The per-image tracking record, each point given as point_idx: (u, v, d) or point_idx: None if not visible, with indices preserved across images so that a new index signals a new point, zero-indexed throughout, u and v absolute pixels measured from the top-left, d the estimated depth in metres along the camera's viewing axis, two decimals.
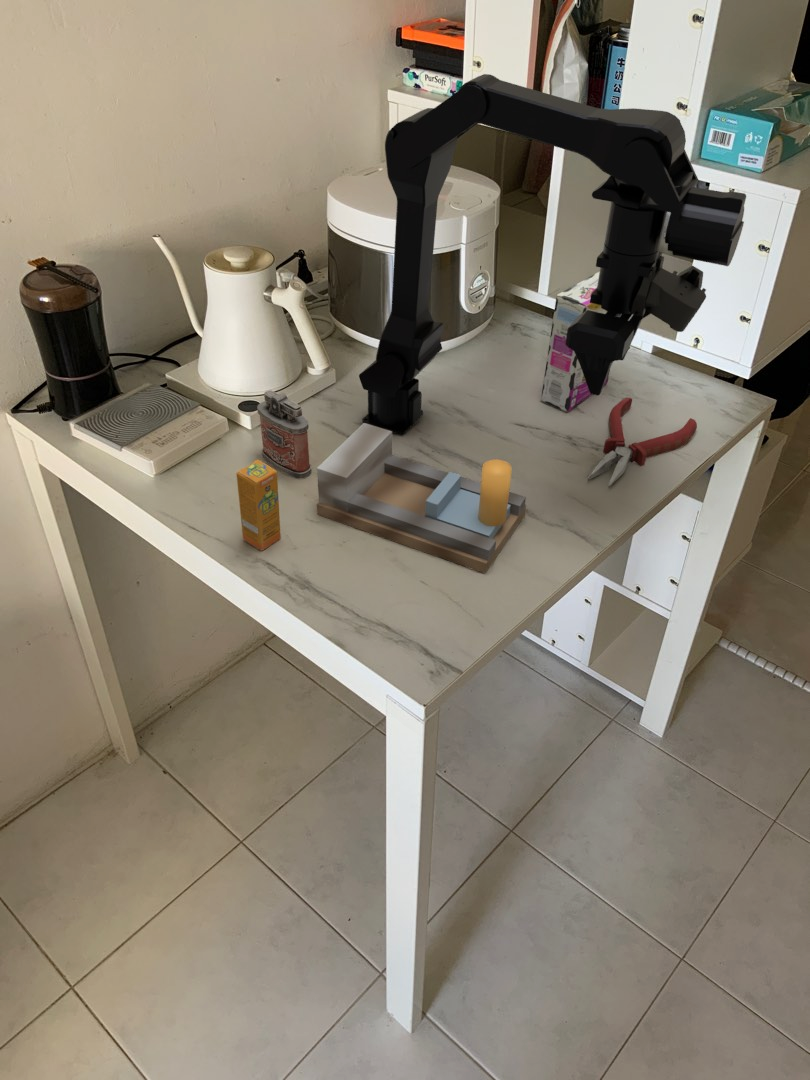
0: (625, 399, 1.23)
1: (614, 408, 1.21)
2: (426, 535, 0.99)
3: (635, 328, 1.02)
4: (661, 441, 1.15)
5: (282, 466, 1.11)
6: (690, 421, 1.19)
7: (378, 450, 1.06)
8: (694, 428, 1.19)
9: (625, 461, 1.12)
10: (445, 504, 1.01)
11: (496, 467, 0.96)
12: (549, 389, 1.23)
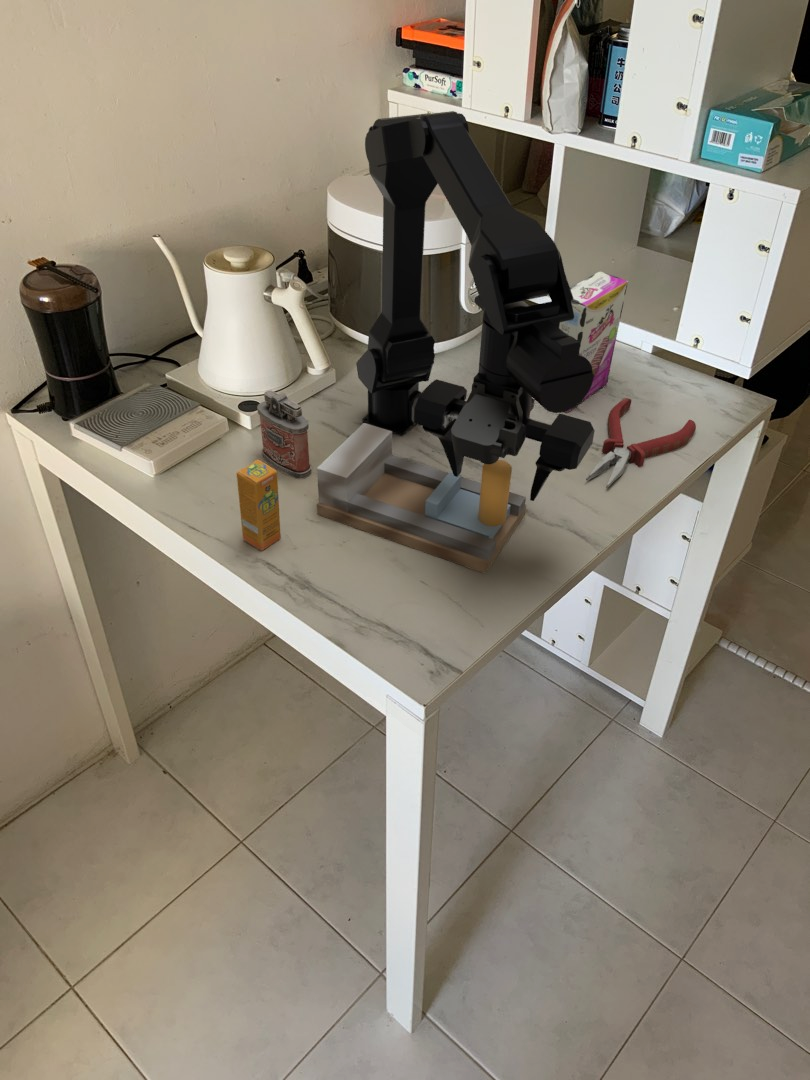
0: (624, 400, 1.23)
1: (613, 409, 1.21)
2: (426, 535, 0.99)
3: None
4: (660, 442, 1.15)
5: (282, 466, 1.11)
6: (689, 422, 1.19)
7: (378, 450, 1.06)
8: (693, 429, 1.19)
9: (624, 462, 1.12)
10: (445, 504, 1.01)
11: (496, 467, 0.96)
12: None
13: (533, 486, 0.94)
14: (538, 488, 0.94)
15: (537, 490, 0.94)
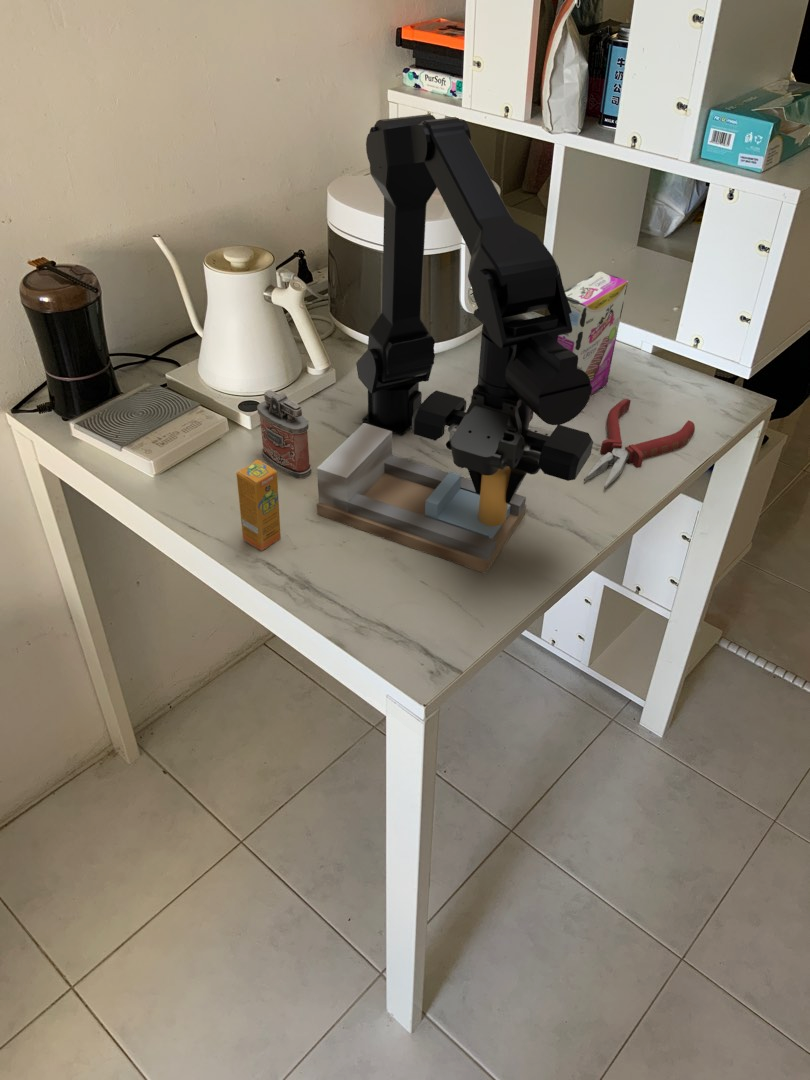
0: (623, 400, 1.23)
1: (612, 409, 1.21)
2: (426, 535, 0.99)
3: (510, 476, 0.94)
4: (659, 443, 1.15)
5: (282, 466, 1.11)
6: (688, 423, 1.19)
7: (378, 450, 1.06)
8: (692, 430, 1.18)
9: (622, 463, 1.12)
10: (445, 504, 1.01)
11: None
12: None
13: (508, 489, 0.96)
14: (513, 491, 0.96)
15: (512, 493, 0.96)
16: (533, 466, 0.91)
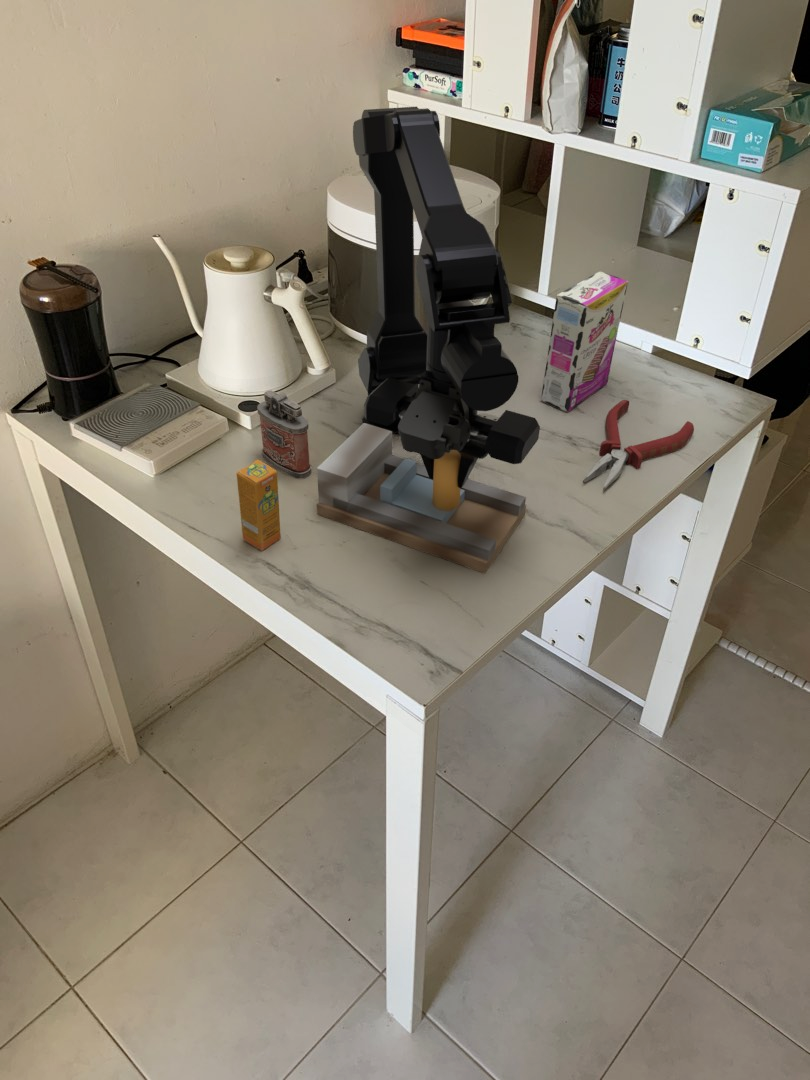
0: (622, 401, 1.22)
1: (611, 410, 1.21)
2: (426, 535, 0.99)
3: None
4: (658, 444, 1.15)
5: (282, 466, 1.11)
6: (687, 424, 1.18)
7: (378, 450, 1.06)
8: (691, 431, 1.18)
9: (620, 464, 1.12)
10: (400, 489, 1.04)
11: None
12: (549, 389, 1.23)
13: (459, 473, 0.98)
14: (464, 475, 0.98)
15: (463, 477, 0.98)
16: (481, 450, 0.93)
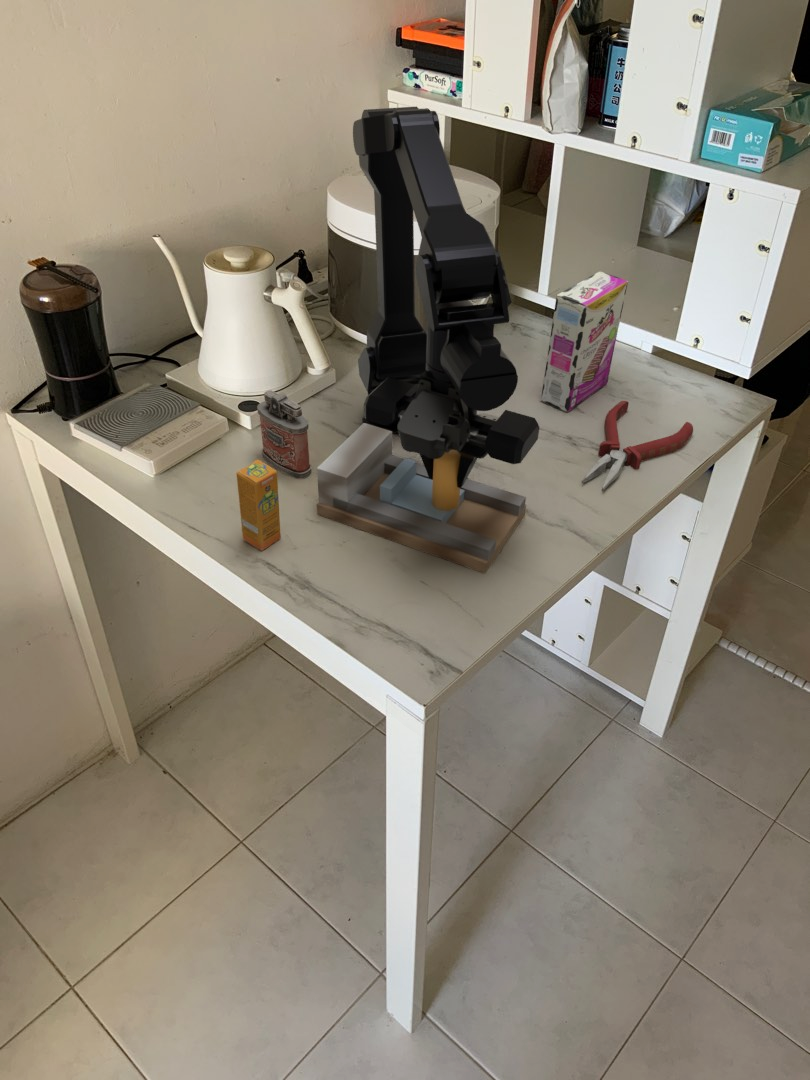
0: (621, 402, 1.22)
1: (610, 411, 1.21)
2: (426, 535, 0.99)
3: (460, 461, 0.96)
4: (657, 445, 1.15)
5: (282, 466, 1.11)
6: (686, 424, 1.18)
7: (378, 450, 1.06)
8: (690, 432, 1.18)
9: (619, 465, 1.12)
10: (400, 489, 1.04)
11: None
12: (549, 389, 1.23)
13: (459, 473, 0.98)
14: (463, 475, 0.98)
15: (463, 477, 0.98)
16: (481, 450, 0.93)
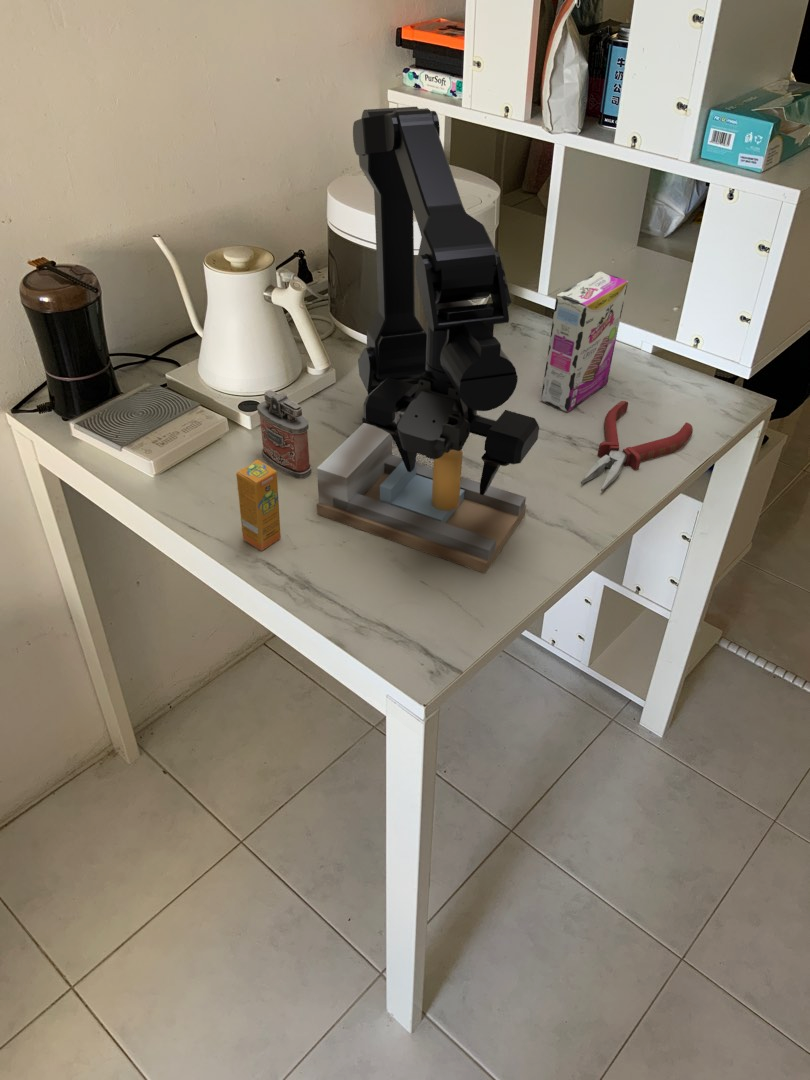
0: (621, 402, 1.22)
1: (609, 411, 1.21)
2: (426, 535, 0.99)
3: (483, 468, 0.95)
4: (656, 446, 1.14)
5: (282, 466, 1.11)
6: (686, 425, 1.18)
7: (378, 450, 1.06)
8: (690, 432, 1.18)
9: (619, 465, 1.11)
10: (400, 489, 1.04)
11: None
12: (549, 389, 1.23)
13: (482, 481, 0.97)
14: (486, 483, 0.97)
15: (486, 484, 0.97)
16: None
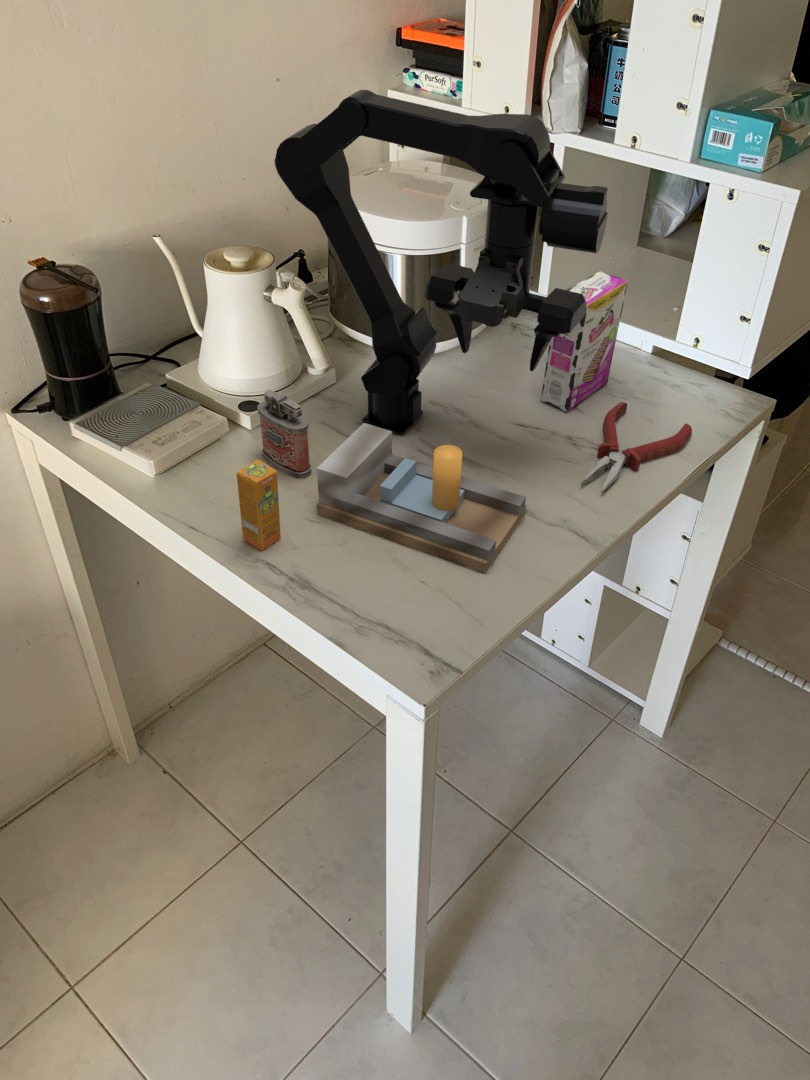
0: (620, 404, 1.22)
1: (609, 413, 1.20)
2: (426, 535, 0.99)
3: (534, 343, 1.05)
4: (656, 447, 1.14)
5: (282, 466, 1.11)
6: (685, 426, 1.18)
7: (378, 450, 1.06)
8: (689, 433, 1.18)
9: (619, 466, 1.11)
10: (400, 489, 1.04)
11: (447, 452, 0.98)
12: (549, 389, 1.23)
13: (532, 356, 1.06)
14: (536, 357, 1.06)
15: (536, 360, 1.07)
16: None
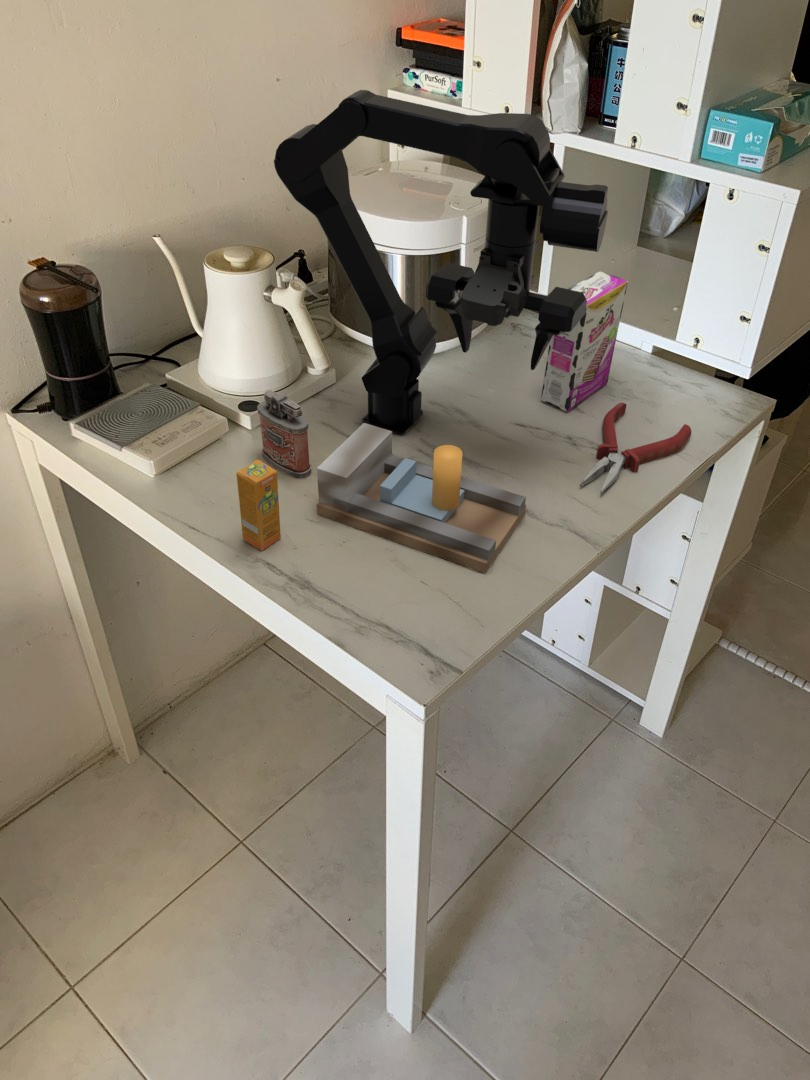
0: (619, 404, 1.22)
1: (608, 413, 1.20)
2: (426, 535, 0.99)
3: (535, 341, 1.05)
4: (655, 448, 1.14)
5: (282, 466, 1.11)
6: (684, 427, 1.18)
7: (378, 450, 1.06)
8: (688, 434, 1.18)
9: (618, 468, 1.11)
10: (400, 489, 1.04)
11: (447, 452, 0.98)
12: (549, 389, 1.23)
13: (533, 354, 1.07)
14: (537, 356, 1.06)
15: (536, 358, 1.07)
16: None
